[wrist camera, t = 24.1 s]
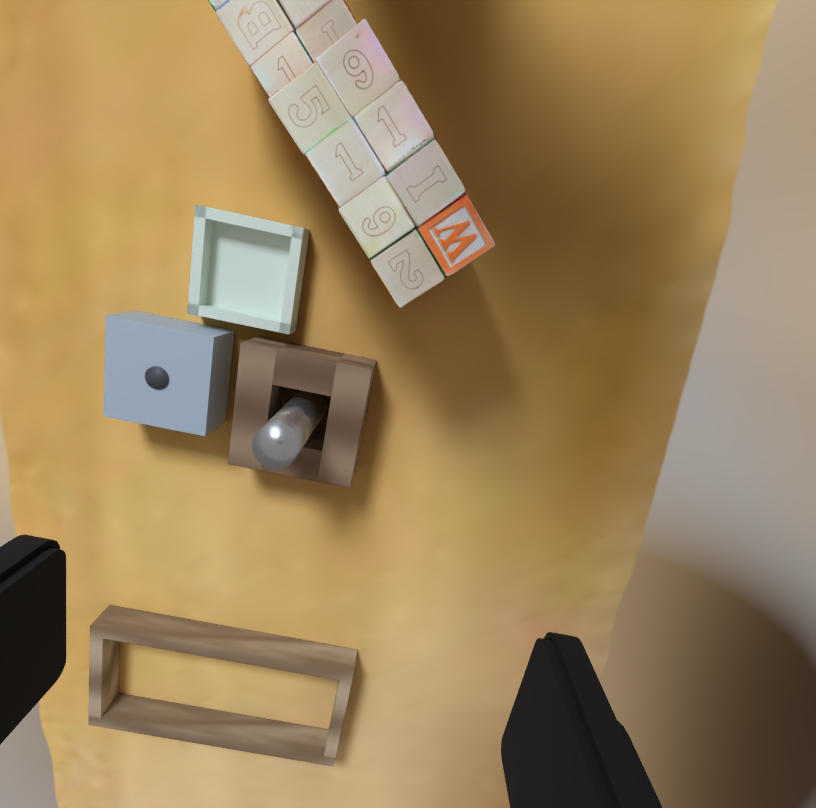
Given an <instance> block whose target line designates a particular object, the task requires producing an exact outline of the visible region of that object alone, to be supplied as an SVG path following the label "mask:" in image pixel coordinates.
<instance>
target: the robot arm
mask: <svg viewBox="0 0 816 808" xmlns="http://www.w3.org/2000/svg"><path fill="white" fill-rule="evenodd" d="M65 663H66V554H65V552H64V551H63V550H60V546H59V544H58V542H57V541H54V540H50V539H45V538H40V537H34V536H29V535H20V536H18V537H16V538H14V539H12V540H11V541H9V542H8V543H6V544H4V545H3V546H1V547H0V744H1V743H2V742H3V741H4V740H5V738H6V737H7V736H8V735H9V734H10V733H11V732H12V730H14V728H15V727H16V726H17V725H18V724H19V723H20V722H21V721H22V719H23V718H24V717H25V716H26V715H27V714H28V713H29V712H30V710H31V709H32V708H33V707H34V706H35V705H36V704H37V703H38V701H39V700H40V699H41V698H42V697H43V696H44V695H45V693H46V692H47V691H48V690H49V689H50V688H51V687H52V686H53V684H54V683H55V682H56V681H57V679H58V678H59V676H60V675H61V673H62V671H63V669H64V666H65ZM501 756H502V763H503V769H504V774H505V780H506V785H507V791H508V797H509V802H510V808H662V806H661V804H660V802H659V800H658V797H657V795H656V793H655V791H654V789H653V787H652V784H651V782H650V780H649V778H648V776H647V774H646V772H645V769H644V767H643V765H642V763H641V761H640V759H639V757H638V754H637V752H636V750H635V748H634V746H633V743H632V741H631V739H630V737H629V735H628V734H627V732H626V730H625V728H624V726H622V725H621V724H620V723H619V722H618V721H617V720H616V717H615V715H614V713H613V710H612V709H611V706H610V704H609V702H608V699H607V697H606V695H605V693H604V691H603V688H602V686H601V684H600V682H599V680H598V677H597V675H596V673H595V671H594V669H593V666H592V664H591V662H590V660H589V658H588V655H587V653H586V651H585V649H584V646H583V644H582V642H581V641H580V639H579V638H577V637H574V636H568V635H563V634H558V633H552V632H548V633H547V634H546V636H545V638H544V639H541V638H538V639H537V640H536V642H535V645H534V648H533V651H532V654H531V656H530V659H529V662H528V665H527V668H526V671H525V674H524V677H523V679H522V682H521V685H520V688H519V691H518V694H517V697H516V699H515V702H514V705H513V708H512V711H511V714H510V717H509V720H508V722H507V725H506V728H505V731H504V734H503V737H502V744H501Z"/></svg>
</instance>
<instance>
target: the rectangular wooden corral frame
mask: <svg viewBox="0 0 816 808" xmlns="http://www.w3.org/2000/svg"><path fill="white" fill-rule="evenodd" d="M120 642H126V643H132V644H137V645H143V646H149V647H154V648H160V649H165V650H171V651H177V652H182V653H188V654H194V655H199V656H205V657H210V658H216V659H222V660H227V661H233V662H239V663H244V664H250V665H256V666H261V667H267V668H272V669H278V670H284V671H289V672H295V673H301V674H306V675H312V676H317V677H323V678H329V679H334V680H339V684H338V688H337V693H336V698H335V703H334V708H333V712H332V717H331V722H330V727H329V730H328V729H322V728H316V727H310V726H304V725H299V724H293V723H287V722H281V721H276V720H270V719H264V718H258V717H252V716H247V715H241V714H235V713H229V712H224V711H218V710H212V709H206V708H200V707H195V706H189V705H183V704H177V703H172V702H166V701H160V700H154V699H148V698H143V697H137V696H131V695H125V694H120V693H118V686H119V660H120ZM356 656H357V650H356V649H350V648H345V647H339V646H334V645H328V644H323V643H317V642H312V641H306V640H301V639H295V638H289V637H284V636H278V635H273V634H267V633H262V632H256V631H251V630H245V629H240V628H234V627H229V626H223V625H218V624H212V623H206V622H201V621H195V620H190V619H184V618H179V617H173V616H168V615H162V614H157V613H151V612H146V611H140V610H134V609H129V608H123V607H118V606H112V605H109V606H108V607H107V608H106V609H105V610H104V611H103V612H102V614H101V615H100V616H99V617H98V618H97V619H96V620H95V621H94V622H93V623H92V624H91V625H90V661H89V724H88V725H92V726H98V727H104V728H110V729H116V730H122V731H128V732H134V733H140V734H145V735H151V736H157V737H163V738H169V739H175V740H181V741H187V742H193V743H198V744H204V745H210V746H216V747H222V748H228V749H234V750H240V751H246V752H251V753H257V754H263V755H269V756H275V757H281V758H287V759H293V760H298V761H304V762H310V763H316V764H322V765H328V766H334V762H335V758H336V753H337V748H338V744H339V739H340V735H341V730H342V725H343V721H344V716H345V712H346V707H347V702H348V698H349V693H350V689H351V684H352V680H353V675H354V669H355V663H356Z"/></svg>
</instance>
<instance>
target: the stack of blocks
mask: <svg viewBox="0 0 816 808" xmlns="http://www.w3.org/2000/svg"><path fill="white" fill-rule="evenodd" d="M208 1H209V3H210V4H211V6H212V7H213V9H214V10H215V12H216V15H217V17H218V18H219V20H220V21H221V23H222V25H223V26H224V28H225V29H226V31H227V32H228V34H229V35H230V37H231V38H232V40H233V42H234V43H235V45H236V46H237V48H238V49H239V51H240V52H241V54H242V56H243V57H244V59H245V60H246V62H247V63H248V65H249V66H250V68H251V70H252V71H253V73H254V75H255V76H256V78H257V79H258V81H259V82H260V84H261V85H262V87H263V89H264V90H265V91H266V93H267V94H268V96H269V97H270V98H268V102H269V103H270V105H271V106H272V108H273V110H274V111H275V113H276V114H277V116H278V117H279V119H280V120H281V122H282V123H283V125H284V126H285V128H286V129H287V131H288V132H289V134H290V135H291V137H292V138H293V140H294V141H295V143H296V144H297V146H298V147H299V149H300V151H301V152H302V154H303V155H304V156H305V157H306V158H307V159H308V160H309V161H310V163H311V165H312V166H313V168H314V169H315V171H316V172H317V174H318V175H319V177H320V179H321V180H322V182H323V183H324V185H325V186H326V188H327V189H328V191H329V193H330V194H331V196H332V197H333V199H334V200H335V202H336V203H337V205H338V211H339V213H340V214H341V216H342V217H343V219H344V221H345V222H346V224H347V225H348V227H349V228H350V230H351V231H352V233H353V235H354V236H355V238H356V239H357V241H358V243H359V244H360V246H361V247H362V249H363V250H364V252H365V254H366V255H367V257H368V258H369V259H370V261H371V264H372V266H373V267H374V269H375V271H376V272H377V274H378V275H379V277H380V279H381V280H382V282H383V283H384V285H385V287H386V288H387V290H388V292H389V293H390V295H391V296H392V298H393V300H394V301H395V303H396V304H397V306H398V307H399V308H401V307H403V306H404V305H406V304H407V303H409V302H411V301H412V300H414V299H415V298H417V297H418V296H420V295H421V294H423V293H425V292H426V291H428V290H429V289H431V288H432V287H434V286H436V285H437V284H439V283H440V282H442V281H443V280H444V279H445V278H446V277H448V276H450V275H452V274H453V273H455V272H457V271H458V270H460V269H461V268H463V267H464V266H466V265H467V264H469V263H470V262H472V261H474V260H475V259H477V258H478V257H480V256H481V255H483V254H484V253H486V252H487V251H489V250H490V249H492V248H493V247H494V246H495V243H494V241H493V239H492V237H491V235H490V234H489V232H488V230H487V228H486V227H485V225H484V223H483V222H482V220H481V218H480V216H479V215H478V213H477V211H476V209H475V207H474V206H473V204H472V202H471V200H470V199H469V197H468V196H467V195H466V190H465V187H464V186H463V184H462V182H461V181H460V179H459V177H458V176H457V174H456V172H455V171H454V169H453V167H452V166H451V164H450V162H449V161H448V159H447V157H446V155H445V154H444V152H443V151H442V149H441V147H440V146H439V144H438V142H437V141H436V140H435V139H434V133H433V130H432V129H431V127H430V125H429V123H428V122H427V120H426V118H425V117H424V115H423V114H422V112H421V110H420V108H419V107H418V105H417V103H416V102H415V100H414V98H413V96H412V95H411V93H410V91H409V90H408V88H407V86H406V85H405V83H404V82H403V81H402V80H401V79H400V77H399V75H398V72H397V71H396V69H395V67H394V66H393V64H392V62H391V61H390V59H389V57H388V56H387V54H386V52H385V50H384V49H383V47H382V45H381V44H380V42H379V40H378V38H377V37H376V35H375V33H374V32H373V30H372V29H371V27H370V25H369V23H368V21H367V20H366V19H365V18H364V19H363V20H362V21H361V22H359V23H357V22H356V20H355V18H354V16H353V14H352V13H351V11H350V9H349V7H348V6H347V4H346V2H345V0H208Z"/></svg>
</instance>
